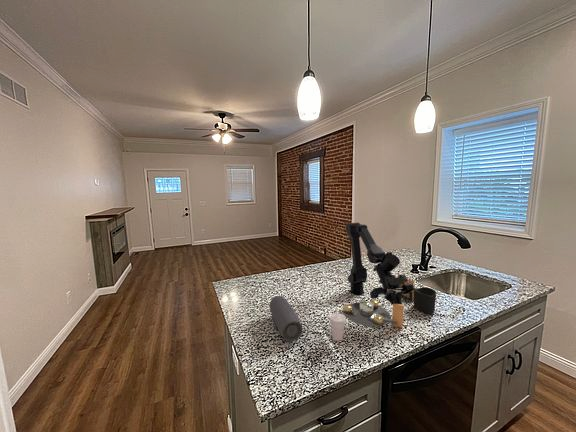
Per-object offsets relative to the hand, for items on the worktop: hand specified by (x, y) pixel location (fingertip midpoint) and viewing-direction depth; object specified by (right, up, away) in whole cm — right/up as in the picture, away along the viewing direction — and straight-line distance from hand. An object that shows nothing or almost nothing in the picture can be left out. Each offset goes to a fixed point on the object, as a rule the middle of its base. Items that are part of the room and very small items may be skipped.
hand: (400, 310), depth 102 cm
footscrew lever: (-5, -6, +2) cm, 8 cm away
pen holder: (+18, -6, +15) cm, 25 cm away
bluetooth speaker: (-48, -9, +2) cm, 49 cm away
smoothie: (-28, -9, -6) cm, 30 cm away
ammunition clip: (+16, -4, +29) cm, 34 cm away
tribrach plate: (-11, -7, +11) cm, 17 cm away
